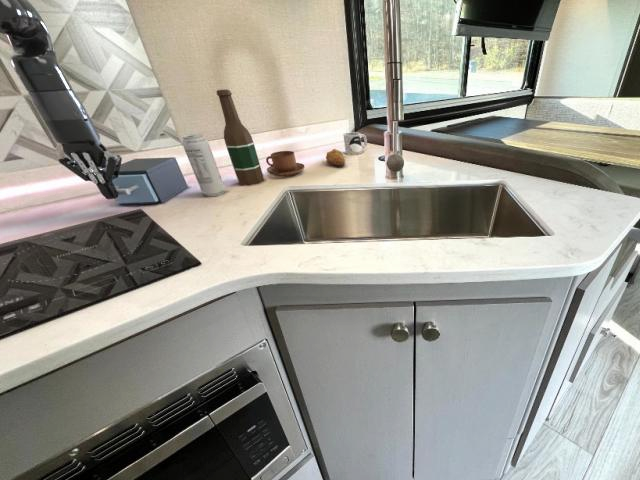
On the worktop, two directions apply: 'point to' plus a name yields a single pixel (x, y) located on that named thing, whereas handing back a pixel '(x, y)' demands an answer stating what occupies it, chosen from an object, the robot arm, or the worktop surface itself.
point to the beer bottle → (239, 143)
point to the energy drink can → (203, 164)
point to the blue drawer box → (157, 176)
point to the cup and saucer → (283, 164)
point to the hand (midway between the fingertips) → (112, 198)
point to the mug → (354, 142)
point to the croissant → (336, 158)
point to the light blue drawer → (134, 189)
